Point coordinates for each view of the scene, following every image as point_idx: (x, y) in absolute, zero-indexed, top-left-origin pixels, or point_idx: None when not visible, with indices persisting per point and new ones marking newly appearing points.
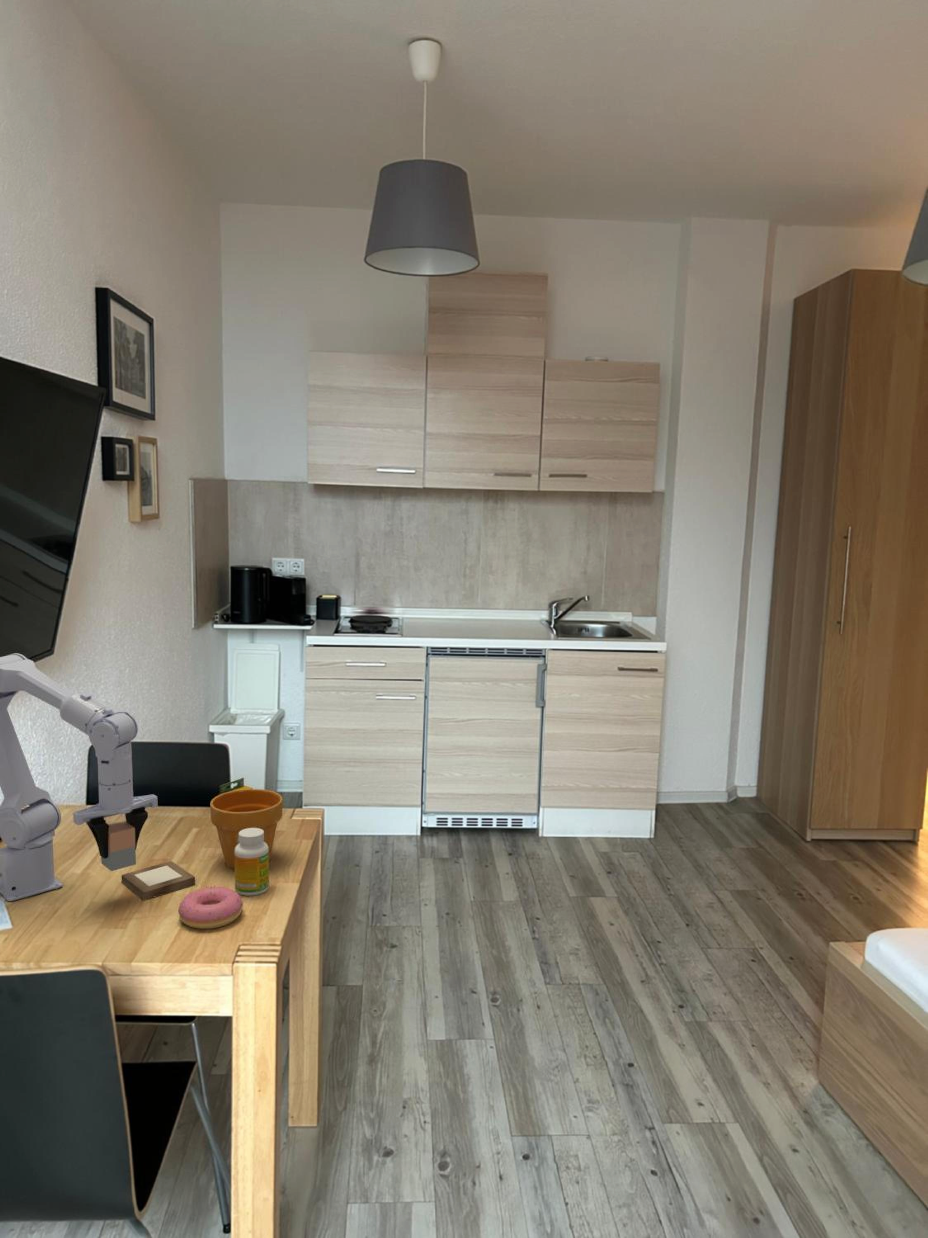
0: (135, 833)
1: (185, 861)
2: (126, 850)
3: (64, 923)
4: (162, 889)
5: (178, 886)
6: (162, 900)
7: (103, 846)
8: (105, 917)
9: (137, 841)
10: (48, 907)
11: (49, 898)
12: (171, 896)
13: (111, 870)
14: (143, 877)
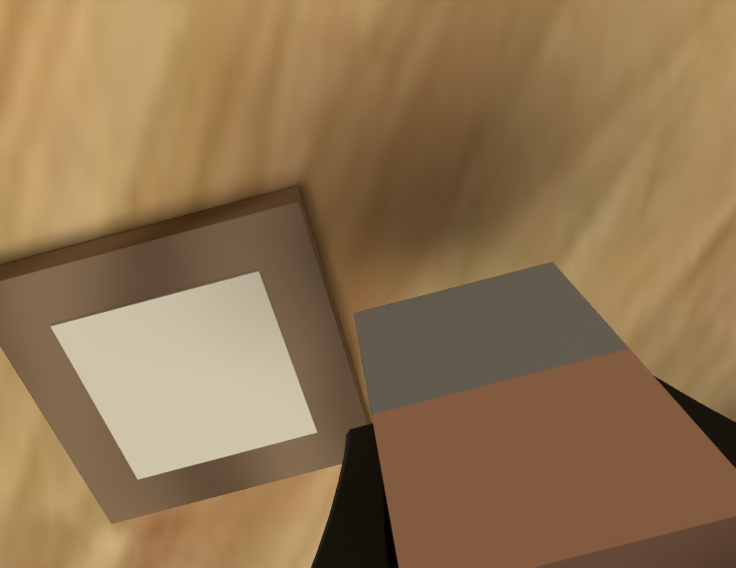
0: (372, 551)
1: (47, 538)
2: (460, 377)
3: (731, 91)
4: (183, 227)
5: (85, 249)
6: (195, 139)
7: (717, 418)
8: (535, 60)
9: (340, 484)
10: (722, 305)
11: (686, 389)
12: (138, 170)
13: (552, 266)
14: (275, 388)
